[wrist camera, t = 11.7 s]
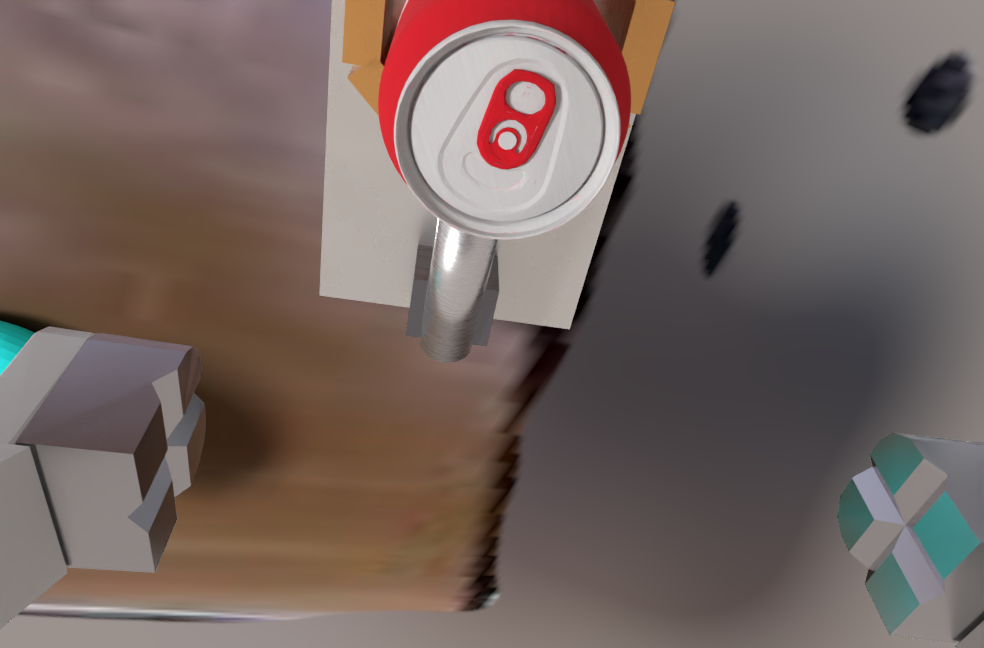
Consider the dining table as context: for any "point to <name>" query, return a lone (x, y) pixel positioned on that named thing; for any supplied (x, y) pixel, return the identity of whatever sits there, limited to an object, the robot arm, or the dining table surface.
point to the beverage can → (504, 111)
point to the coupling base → (424, 238)
